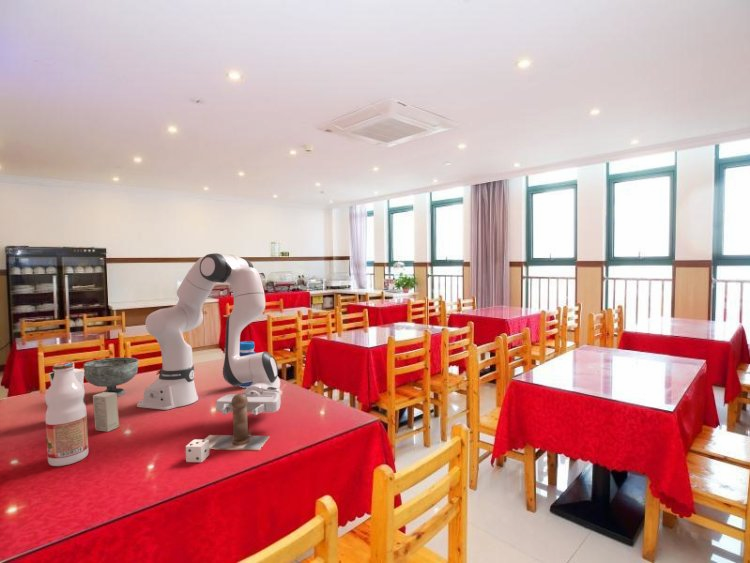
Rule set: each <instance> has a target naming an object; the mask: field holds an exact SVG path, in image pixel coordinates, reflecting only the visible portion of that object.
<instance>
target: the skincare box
mask: <svg viewBox="0 0 750 563" xmlns="http://www.w3.org/2000/svg"><path fill="white" fill-rule="evenodd" d="M101 392H102V393H101ZM101 392H99V393H96V394H94V395H92V401H93V413H94V414H93V416H94V426H95V431H101V432H111V431H114V430H116V429H117V428H119V427H120V419H119V409H118V408H119V406H118V397H117V393H113V392H103V391H101Z"/></svg>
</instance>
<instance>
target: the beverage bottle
mask: <svg viewBox="0 0 750 563" xmlns="http://www.w3.org/2000/svg"><path fill="white" fill-rule="evenodd" d="M254 350H255V342H254V341H252V340H249V341H247V340H245V341H240V352H239V355H240V356H246V355H251V354H255V353H256V351H254ZM252 383H253V381H252V382H247V383H244V384H241V385H238V388H241V387H242V388H241V389H246V388H248V387H249V386H250V385H252Z"/></svg>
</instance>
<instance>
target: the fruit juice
mask: <svg viewBox="0 0 750 563" xmlns="http://www.w3.org/2000/svg"><path fill="white" fill-rule="evenodd" d="M75 366H76V365H75V362H74V361H64V362H58V363H55V364H53V365H52V372H53V371H54V372H55V373H54V378H53V381H52V384H51V383H50V386H49V387H48V388H47V390H46V392H45V395H44V401H45V403H46V406H47V408H46V411H45V419H44V420H45V421H44V422H45V430H46V432H45V433H46V448H47V449H46V450H47V453H46V454H47V462H48V465H50V466H51V467H62V466H68V465H71V464H75V463H78V462H80V461H82V460H83V459H85V458H86V457H87V456H88V454H89V450H90V449H89V433H88V432H89V430H88V415H87V414H88V413H87V411H88V410H87V406H86V403H85V404H84V402H85V401H84V402H83V399H84V400H85V394H86V391H85V386H84V387H83V385H82V384H81V383H80V382H79V381H78V380H77V378H76V376H75V374H74V371H73V369H75Z"/></svg>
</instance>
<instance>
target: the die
mask: <svg viewBox="0 0 750 563" xmlns="http://www.w3.org/2000/svg"><path fill="white" fill-rule="evenodd" d="M209 456H210V449H209V440H204V439H199V438H198V439H193V440H191V441H190V442H189V443H188V444H187V445H185V461H186V463H203V462H204V461H205V460H206V458H208V457H209Z"/></svg>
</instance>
